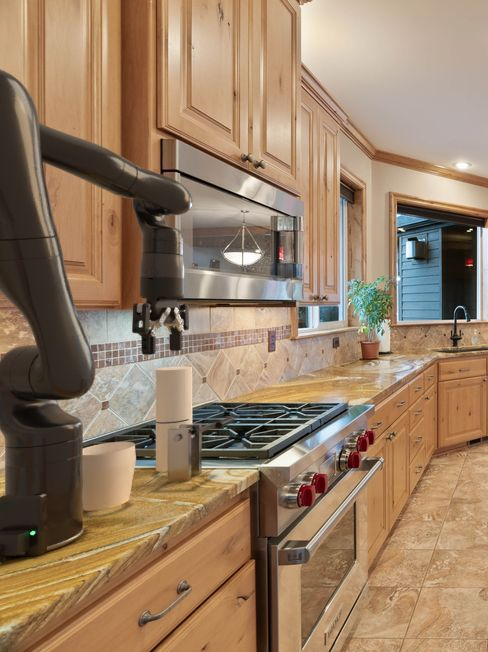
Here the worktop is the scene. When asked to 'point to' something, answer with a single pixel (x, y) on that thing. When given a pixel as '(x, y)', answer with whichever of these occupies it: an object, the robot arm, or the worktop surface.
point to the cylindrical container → (171, 407)
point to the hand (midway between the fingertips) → (162, 352)
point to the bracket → (184, 453)
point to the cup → (107, 474)
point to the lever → (212, 426)
